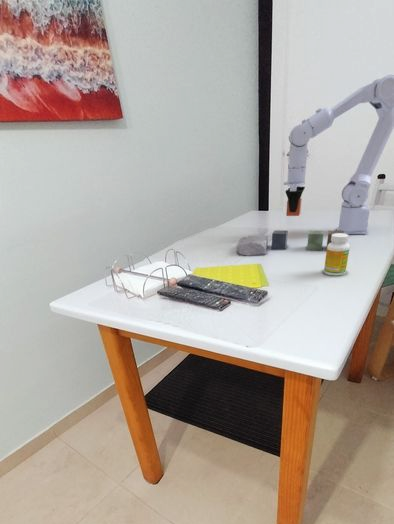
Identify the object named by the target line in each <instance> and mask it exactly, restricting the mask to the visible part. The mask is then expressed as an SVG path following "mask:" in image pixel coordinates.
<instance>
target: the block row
mask: <svg viewBox="0 0 394 524" xmlns="http://www.w3.org/2000/svg"><path fill="white" fill-rule="evenodd" d="M324 233H325V232H324V230H309V231H308V236H307V244H306V245H307V246H306V250H307V251H322V249H323V241H324ZM335 233H344V231H337V230H328V234H327V241H326V247H325V250H326V251H327V246H328V244H329V243H331V242H332V241H331V236H332V234H335ZM288 234H289V230H288V229H287V230H283V229H282V230H281V229H279V230H277V229H275V230H273V232H272V234H271V250H286V248H287V246H288V237H289V235H288Z"/></svg>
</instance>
